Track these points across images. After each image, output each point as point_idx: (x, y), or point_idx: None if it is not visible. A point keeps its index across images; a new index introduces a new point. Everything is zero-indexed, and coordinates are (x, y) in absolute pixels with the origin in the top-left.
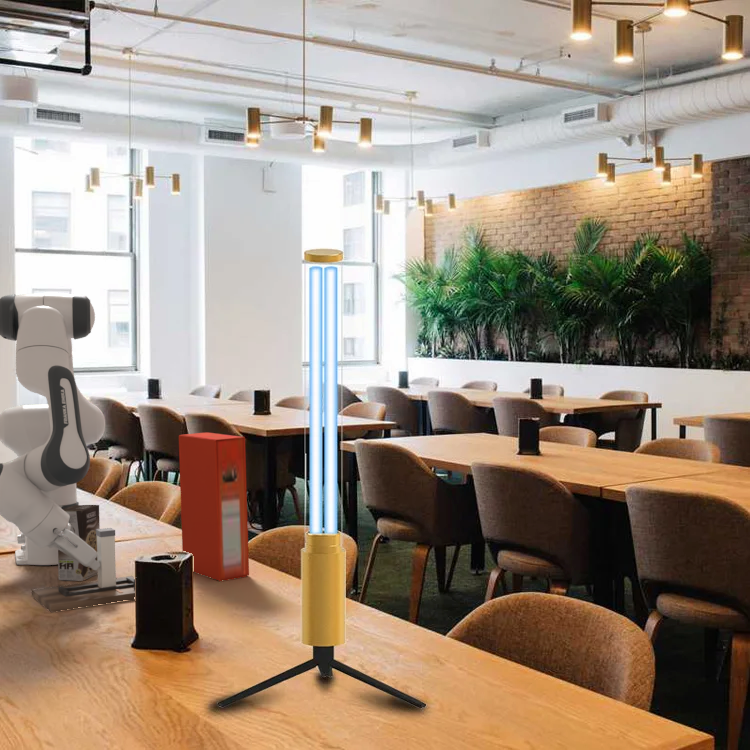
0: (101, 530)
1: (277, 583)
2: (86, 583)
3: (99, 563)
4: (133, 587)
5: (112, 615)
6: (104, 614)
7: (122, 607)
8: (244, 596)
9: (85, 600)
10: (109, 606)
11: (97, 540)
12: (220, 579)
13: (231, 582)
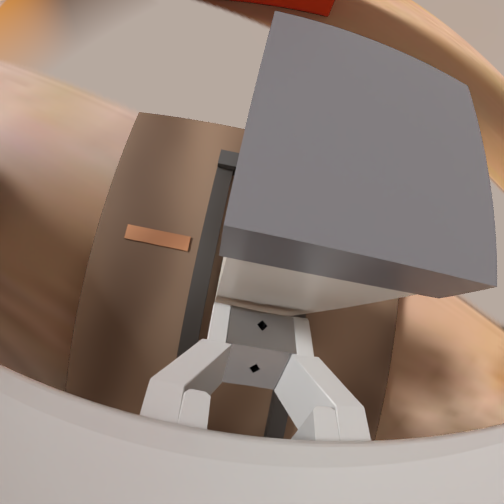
0: (427, 212)
1: (401, 4)
2: (105, 304)
3: (308, 323)
4: None
5: (477, 381)
6: (460, 397)
7: (437, 326)
8: (466, 83)
9: (375, 431)
10: (405, 355)
11: (257, 272)
12: (328, 12)
13: (349, 14)
